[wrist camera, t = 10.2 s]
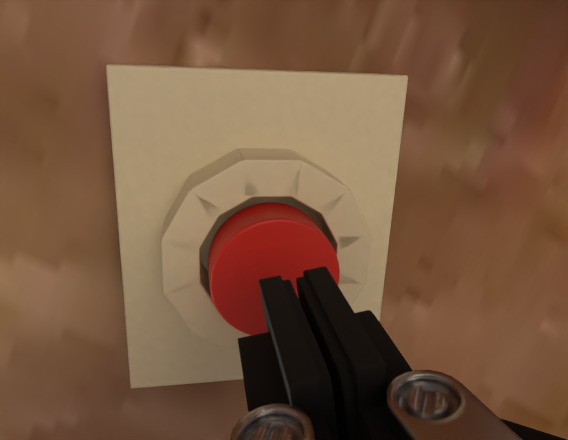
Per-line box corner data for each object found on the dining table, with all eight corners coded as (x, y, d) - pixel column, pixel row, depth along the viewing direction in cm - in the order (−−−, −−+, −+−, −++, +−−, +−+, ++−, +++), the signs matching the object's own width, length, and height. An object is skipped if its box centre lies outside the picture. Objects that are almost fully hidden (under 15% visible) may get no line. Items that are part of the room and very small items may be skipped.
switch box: (359, 342, 22) (392, 400, 18) (136, 358, 20) (123, 426, 17) (387, 73, 18) (436, 78, 15) (114, 63, 16) (92, 65, 13)
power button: (321, 308, 17) (335, 334, 15) (208, 314, 16) (210, 343, 15) (329, 200, 16) (345, 217, 14) (206, 202, 15) (208, 220, 13)
